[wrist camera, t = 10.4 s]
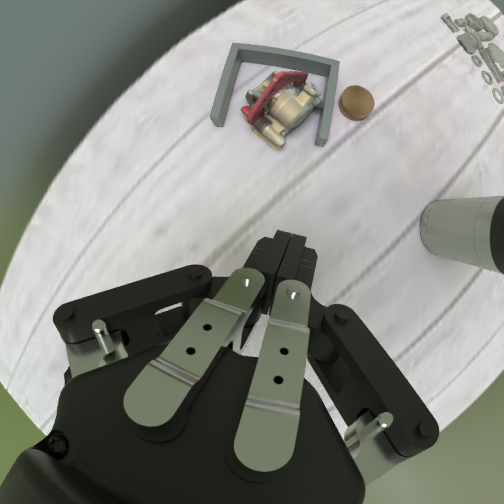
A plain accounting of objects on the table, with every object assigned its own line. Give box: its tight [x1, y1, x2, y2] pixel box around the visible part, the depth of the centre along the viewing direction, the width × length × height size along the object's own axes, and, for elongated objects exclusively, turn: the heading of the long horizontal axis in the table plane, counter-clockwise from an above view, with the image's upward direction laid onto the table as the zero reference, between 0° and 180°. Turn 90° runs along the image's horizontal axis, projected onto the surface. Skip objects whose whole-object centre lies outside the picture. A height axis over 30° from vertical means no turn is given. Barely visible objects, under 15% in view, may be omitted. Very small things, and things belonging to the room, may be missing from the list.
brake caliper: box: [241, 71, 324, 150], centre depth 34 cm, size 11×11×12 cm
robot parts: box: [441, 13, 504, 104], centre depth 28 cm, size 25×25×5 cm
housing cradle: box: [210, 43, 340, 147], centre depth 35 cm, size 16×14×4 cm
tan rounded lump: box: [339, 86, 374, 121], centre depth 35 cm, size 5×5×3 cm
